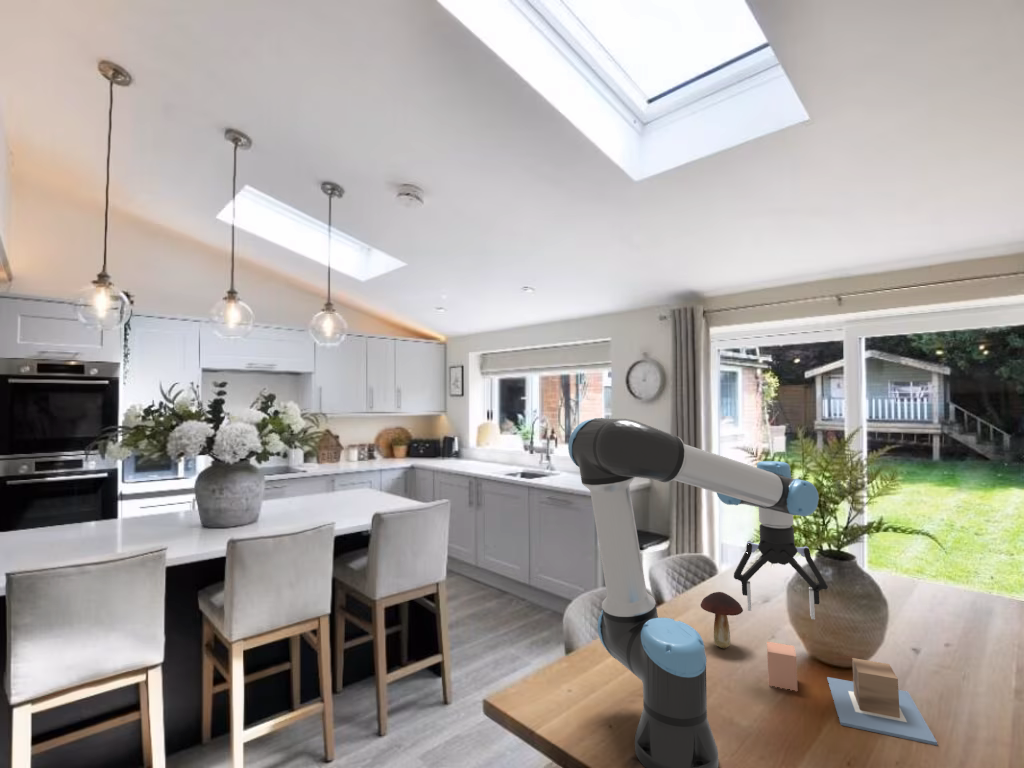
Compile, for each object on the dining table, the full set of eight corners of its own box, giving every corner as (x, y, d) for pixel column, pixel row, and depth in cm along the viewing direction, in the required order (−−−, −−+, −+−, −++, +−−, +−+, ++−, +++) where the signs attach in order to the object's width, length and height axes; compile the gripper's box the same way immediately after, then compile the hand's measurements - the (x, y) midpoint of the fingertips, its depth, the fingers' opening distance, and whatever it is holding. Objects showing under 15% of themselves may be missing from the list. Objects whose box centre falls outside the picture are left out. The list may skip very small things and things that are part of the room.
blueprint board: (937, 745, 99) (937, 741, 99) (840, 725, 106) (840, 721, 106) (908, 694, 117) (907, 691, 117) (827, 679, 124) (827, 676, 124)
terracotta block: (797, 691, 118) (796, 656, 119) (769, 686, 121) (767, 651, 121) (795, 679, 124) (794, 645, 124) (768, 674, 126) (766, 641, 127)
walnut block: (899, 718, 107) (897, 678, 107) (860, 710, 109) (858, 672, 110) (891, 701, 113) (889, 664, 113) (853, 694, 116) (852, 658, 116)
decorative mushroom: (709, 635, 149) (707, 583, 150) (748, 646, 142) (746, 591, 143) (695, 649, 140) (694, 593, 141) (737, 660, 133) (735, 602, 134)
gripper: (833, 525, 123) (838, 615, 122) (722, 518, 133) (725, 600, 132) (838, 532, 116) (843, 627, 115) (720, 524, 127) (724, 610, 125)
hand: (780, 613), depth 123 cm, fingers open, 13 cm apart
